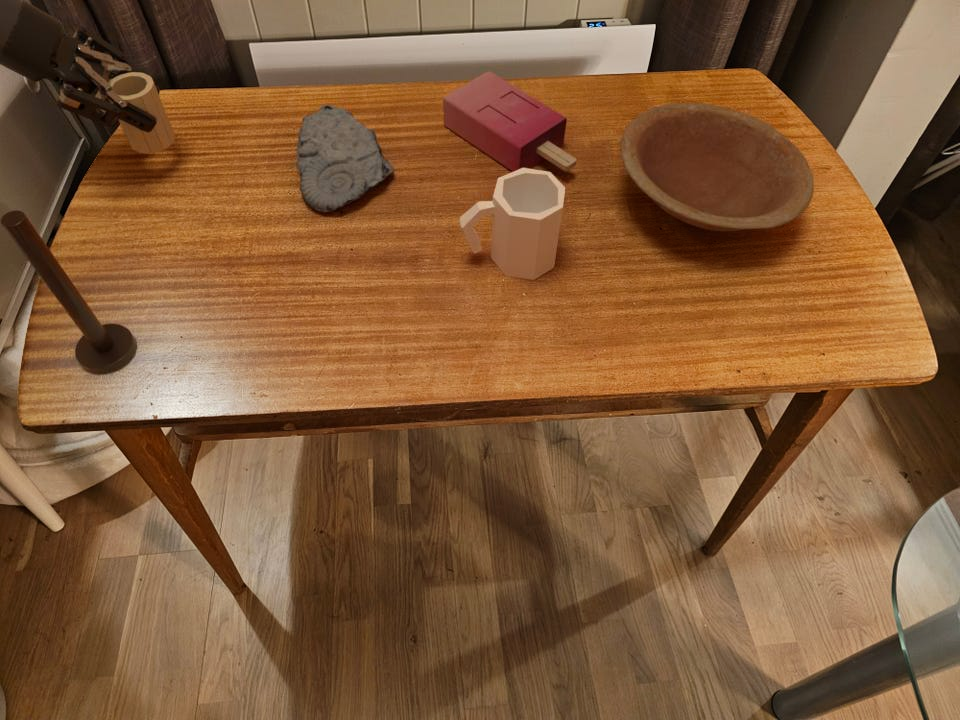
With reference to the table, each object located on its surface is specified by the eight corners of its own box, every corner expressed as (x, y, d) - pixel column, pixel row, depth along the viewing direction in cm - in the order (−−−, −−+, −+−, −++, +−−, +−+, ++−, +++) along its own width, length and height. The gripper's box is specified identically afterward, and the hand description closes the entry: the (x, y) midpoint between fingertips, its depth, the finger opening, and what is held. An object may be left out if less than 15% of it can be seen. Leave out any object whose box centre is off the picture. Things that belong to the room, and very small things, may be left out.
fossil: (319, 226, 89) (313, 202, 86) (265, 146, 98) (258, 121, 94) (408, 190, 93) (406, 166, 90) (350, 116, 102) (346, 92, 98)
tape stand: (85, 382, 75) (-22, 252, 59) (75, 341, 78) (-29, 207, 62) (142, 361, 77) (54, 229, 61) (130, 322, 80) (43, 186, 64)
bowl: (805, 280, 85) (834, 233, 79) (608, 260, 87) (620, 212, 80) (782, 153, 99) (805, 103, 92) (611, 137, 100) (621, 87, 93)
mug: (548, 225, 90) (556, 163, 82) (565, 275, 85) (575, 215, 77) (455, 237, 88) (453, 175, 80) (467, 289, 84) (467, 229, 76)
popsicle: (550, 167, 89) (442, 96, 97) (547, 196, 93) (443, 126, 101) (598, 135, 93) (490, 69, 101) (592, 164, 97) (489, 99, 105)
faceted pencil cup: (135, 158, 91) (110, 104, 84) (126, 133, 93) (101, 79, 87) (179, 146, 92) (157, 91, 86) (169, 122, 95) (147, 67, 88)
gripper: (6, 39, 72) (167, 125, 84) (29, -30, 81) (172, 57, 92) (-20, 91, 76) (137, 166, 87) (4, 19, 84) (145, 97, 95)
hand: (154, 110), depth 90 cm, fingers closed on faceted pencil cup, 5 cm apart
